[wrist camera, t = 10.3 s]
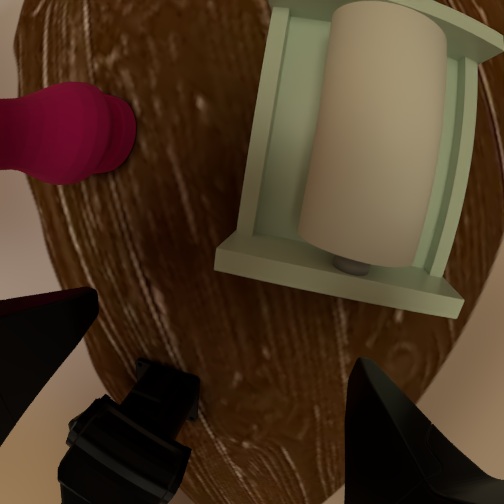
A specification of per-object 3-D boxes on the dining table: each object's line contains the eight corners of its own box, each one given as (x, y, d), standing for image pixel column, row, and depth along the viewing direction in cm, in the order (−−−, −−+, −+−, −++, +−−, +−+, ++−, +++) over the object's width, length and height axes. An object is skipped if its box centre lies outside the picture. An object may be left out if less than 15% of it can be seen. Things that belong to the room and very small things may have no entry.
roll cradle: (425, 287, 19) (453, 325, 14) (237, 247, 21) (213, 276, 16) (465, 53, 13) (502, 30, 8) (277, 3, 15) (265, -39, 10)
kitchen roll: (329, 34, 14) (335, -18, 8) (423, 60, 14) (465, 25, 8) (298, 225, 18) (292, 257, 12) (393, 246, 18) (427, 285, 12)
